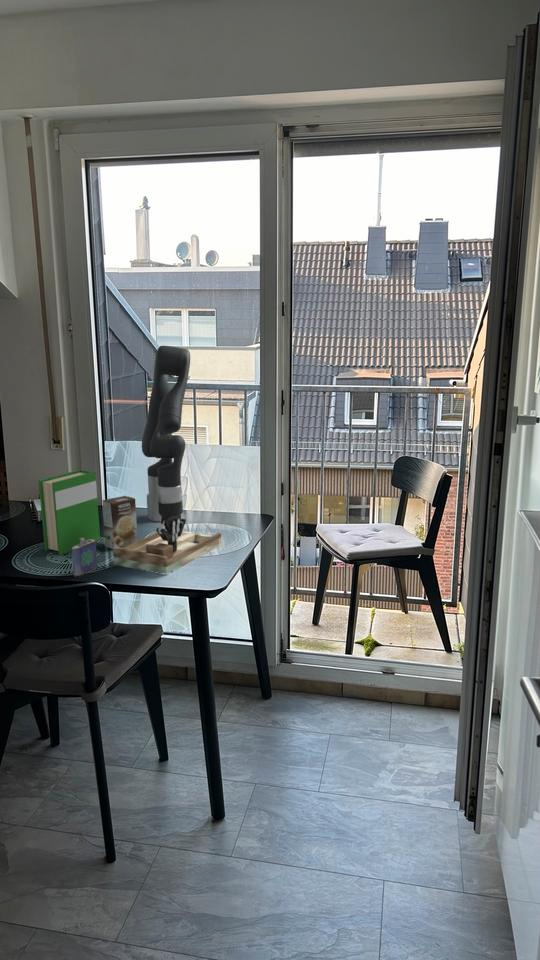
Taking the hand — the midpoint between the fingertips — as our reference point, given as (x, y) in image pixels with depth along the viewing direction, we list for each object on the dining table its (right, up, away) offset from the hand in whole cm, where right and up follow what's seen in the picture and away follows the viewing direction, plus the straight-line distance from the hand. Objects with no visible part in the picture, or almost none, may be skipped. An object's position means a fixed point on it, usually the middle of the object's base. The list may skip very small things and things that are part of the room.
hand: (172, 551), depth 217 cm
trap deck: (-2, -1, +6) cm, 6 cm away
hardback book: (-36, 0, +16) cm, 39 cm away
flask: (-25, -5, -8) cm, 27 cm away
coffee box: (-19, 0, +15) cm, 25 cm away
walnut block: (-2, -2, -5) cm, 6 cm away
